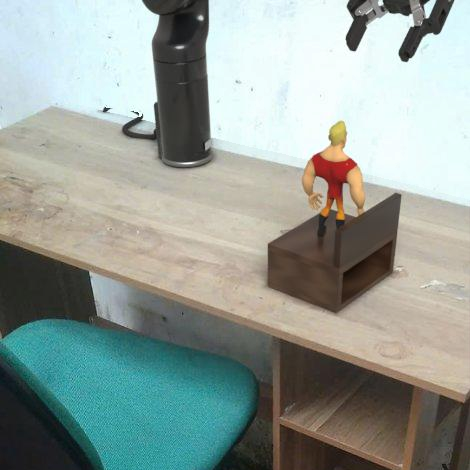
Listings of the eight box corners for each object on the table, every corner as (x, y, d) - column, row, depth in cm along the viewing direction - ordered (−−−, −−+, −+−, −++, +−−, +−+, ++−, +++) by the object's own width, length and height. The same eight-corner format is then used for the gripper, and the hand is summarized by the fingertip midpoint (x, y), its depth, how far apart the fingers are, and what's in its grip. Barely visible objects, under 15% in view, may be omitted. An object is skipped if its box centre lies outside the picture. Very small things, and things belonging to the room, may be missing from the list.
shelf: (267, 286, 113) (267, 207, 105) (325, 249, 121) (329, 173, 112) (336, 313, 107) (341, 232, 99) (393, 272, 115) (401, 194, 107)
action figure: (369, 239, 109) (379, 123, 98) (356, 249, 107) (365, 132, 96) (311, 222, 113) (314, 110, 102) (297, 232, 111) (299, 118, 100)
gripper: (378, -89, 107) (323, 27, 109) (473, -80, 100) (412, 44, 102) (395, -48, 113) (343, 60, 116) (485, -37, 107) (428, 78, 109)
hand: (375, 53), depth 109 cm, fingers open, 8 cm apart
